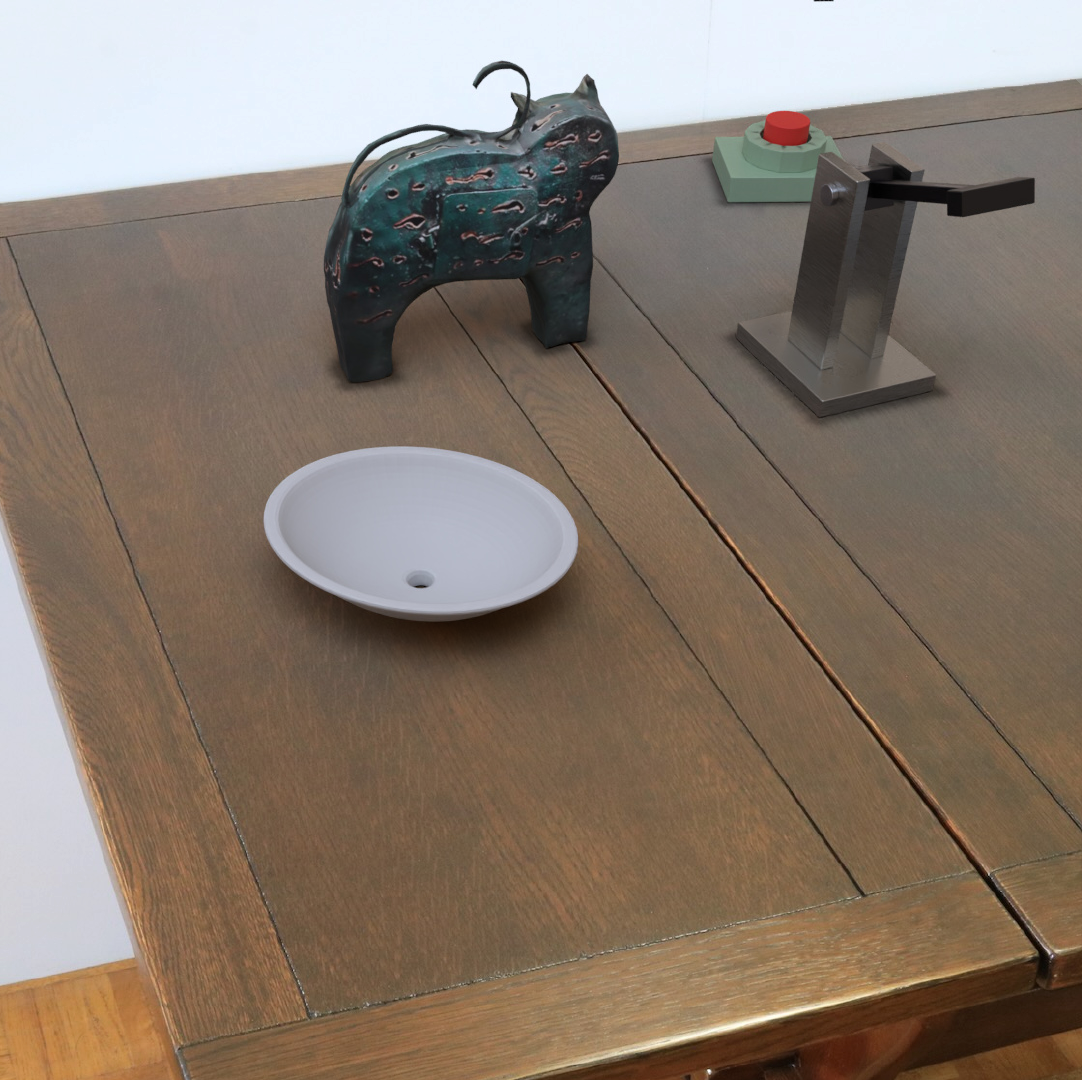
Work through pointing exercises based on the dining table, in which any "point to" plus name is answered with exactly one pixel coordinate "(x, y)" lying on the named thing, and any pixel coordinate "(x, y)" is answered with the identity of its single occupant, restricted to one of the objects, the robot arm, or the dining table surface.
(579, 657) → the dining table surface
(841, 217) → the bracket
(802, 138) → the button
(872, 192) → the lever
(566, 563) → the white oval sink basin
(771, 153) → the button box
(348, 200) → the ceramic cat
